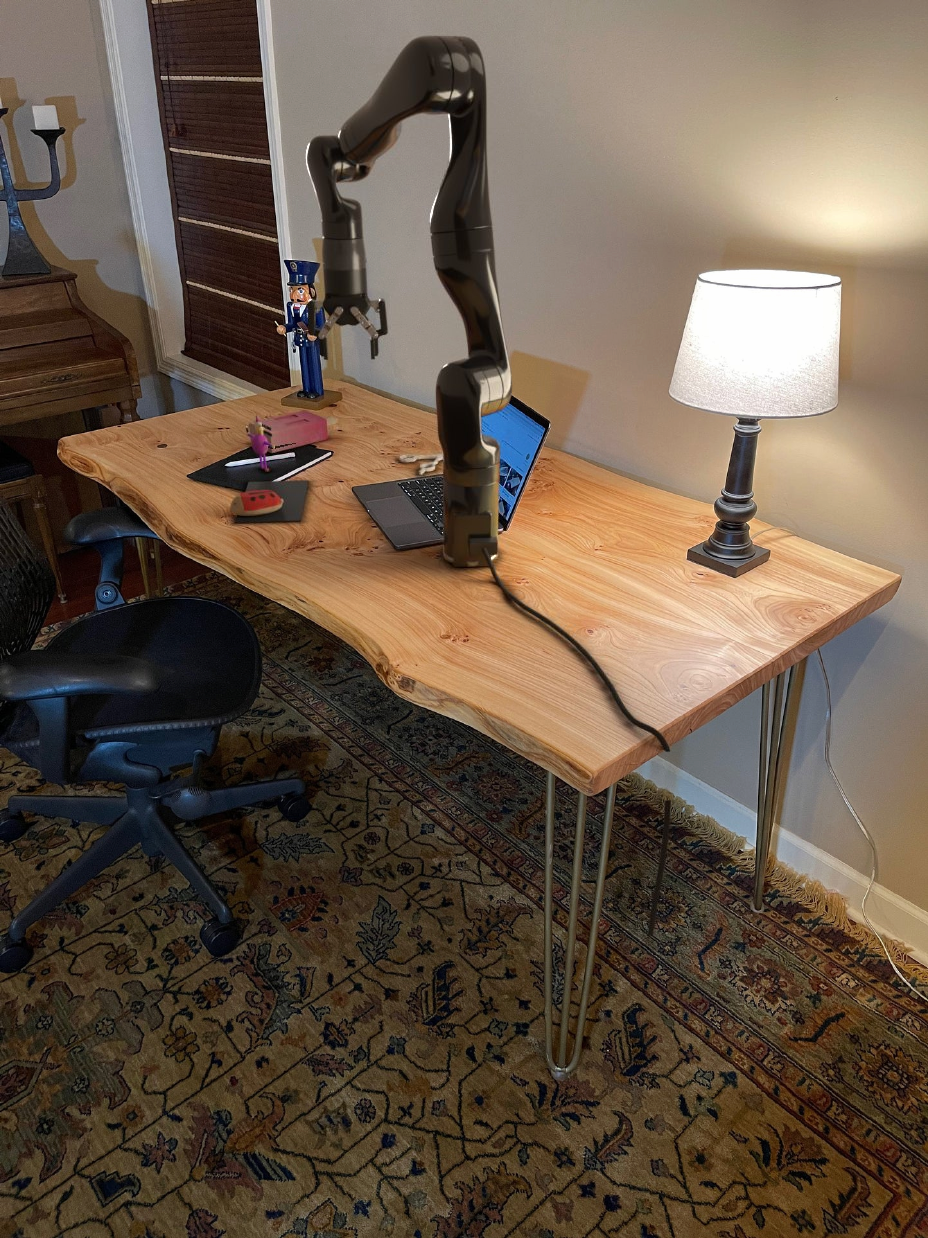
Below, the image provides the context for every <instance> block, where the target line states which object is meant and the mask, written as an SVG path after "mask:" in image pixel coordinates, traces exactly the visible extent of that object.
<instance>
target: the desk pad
mask: <svg viewBox="0 0 928 1238" xmlns="http://www.w3.org/2000/svg"><path fill="white" fill-rule="evenodd" d="M309 482H310V481H309V480H279V481H277V480H276V481H275V480H274V481H273V480H272V481H269V480H268V481H248V482H247V485H246V488H245V490H244V492H248V491H254V490H270V491H273V492H275V493H276V494H277V495H278V496H279V497H280V499H283V503H282V507H281V508H280V509H278V510H276V511H274V512H271V513H268V514H263V515H257V516H239V515H235V519H234V522H233V523H234V524H265V523H267V524H268V523H270V524H273V523H301V522H302V518H303V512H304V507H305V502H306V498H307V493H308V492H307V491H308V487H309V484H310V483H309Z"/></svg>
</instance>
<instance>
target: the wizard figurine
mask: <svg viewBox="0 0 928 1238" xmlns="http://www.w3.org/2000/svg"><path fill="white" fill-rule="evenodd" d="M259 420H260V419H259V416H258V415H257V413H256V416H255V419H254V420H253V422H254V425H255V430H256V432H257V434H255V435H251V434H250V431H249V425H248V426H247V425H246V426H245V430H246V436H247V437H249V438H250V437H252V443H251V447H252V448H251V449H252V451H253V452H254V453H255V454H256V455H257V456H258V458H259V464H260V469H261V470H264V472H266V473H267V472H270V468H268V463H267V459H266V454H267V453H268V446H270V447H272V448H273V449H275V445H272V444H270V443H268V440H267V438H266V437H265V436H264V435H263V433H265V434H267V435H269V436H271V437H272V434H271V433H270V432H267V431H265V430H264V429H268V430H270V431H271V427H268V426H266V425H264V426H263V424H261V422H260V421H259Z"/></svg>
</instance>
